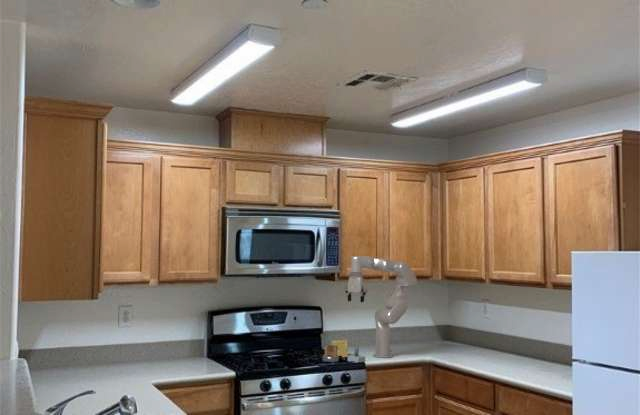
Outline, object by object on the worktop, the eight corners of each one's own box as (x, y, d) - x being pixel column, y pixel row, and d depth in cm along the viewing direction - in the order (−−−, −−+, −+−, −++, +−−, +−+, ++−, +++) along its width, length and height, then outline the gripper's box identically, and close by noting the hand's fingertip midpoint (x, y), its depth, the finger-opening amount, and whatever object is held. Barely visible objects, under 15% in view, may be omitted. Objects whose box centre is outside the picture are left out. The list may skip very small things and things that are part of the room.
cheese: (347, 357, 399) (348, 342, 400) (331, 357, 399) (331, 341, 400) (347, 355, 409) (347, 340, 410) (331, 354, 410) (331, 339, 411)
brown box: (325, 354, 388) (326, 345, 389) (336, 355, 387) (337, 345, 388) (324, 356, 381) (324, 346, 382) (335, 356, 380) (336, 347, 381)
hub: (328, 358, 391) (329, 346, 392) (341, 360, 385) (342, 347, 386) (319, 360, 383) (319, 347, 384) (332, 362, 377) (332, 349, 378)
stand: (354, 359, 392) (354, 345, 392) (365, 361, 387) (365, 346, 388) (347, 361, 385) (347, 346, 386) (358, 362, 380) (358, 347, 381)
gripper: (342, 274, 402) (341, 301, 401) (364, 275, 392) (364, 302, 390) (348, 274, 408) (347, 300, 407) (370, 275, 398) (370, 302, 396)
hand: (355, 301), depth 398 cm, fingers open, 9 cm apart
